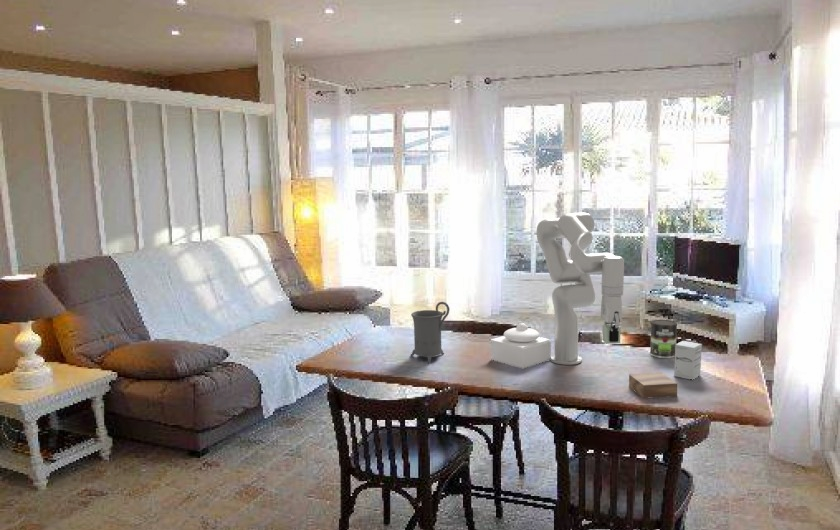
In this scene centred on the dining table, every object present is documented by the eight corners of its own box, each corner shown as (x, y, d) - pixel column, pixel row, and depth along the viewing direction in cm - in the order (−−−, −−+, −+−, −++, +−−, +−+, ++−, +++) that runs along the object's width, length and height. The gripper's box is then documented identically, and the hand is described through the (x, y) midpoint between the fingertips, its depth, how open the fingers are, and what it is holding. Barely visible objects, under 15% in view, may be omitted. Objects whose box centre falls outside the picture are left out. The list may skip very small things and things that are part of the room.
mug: (402, 360, 270) (401, 302, 266) (418, 351, 283) (416, 296, 279) (443, 365, 262) (441, 305, 258) (457, 355, 275) (456, 299, 271)
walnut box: (628, 387, 230) (629, 374, 230) (660, 385, 231) (661, 372, 231) (643, 399, 219) (643, 385, 218) (677, 397, 220) (677, 383, 219)
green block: (602, 340, 234) (602, 324, 233) (615, 339, 234) (616, 323, 233) (606, 343, 229) (606, 327, 228) (620, 343, 229) (620, 327, 228)
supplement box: (673, 376, 240) (674, 344, 238) (681, 371, 245) (682, 340, 243) (693, 380, 235) (694, 347, 233) (701, 375, 240) (702, 343, 238)
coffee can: (677, 359, 262) (679, 325, 260) (651, 357, 264) (652, 324, 262) (674, 352, 272) (675, 319, 269) (648, 351, 274) (649, 319, 272)
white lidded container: (523, 369, 254) (523, 330, 252) (490, 360, 268) (490, 323, 265) (550, 360, 265) (551, 323, 263) (518, 351, 279) (518, 316, 276)
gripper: (595, 286, 237) (594, 333, 240) (609, 295, 220) (608, 346, 223) (615, 285, 237) (613, 333, 240) (630, 294, 220) (629, 345, 223)
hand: (611, 338), depth 231 cm, fingers closed on green block, 5 cm apart
